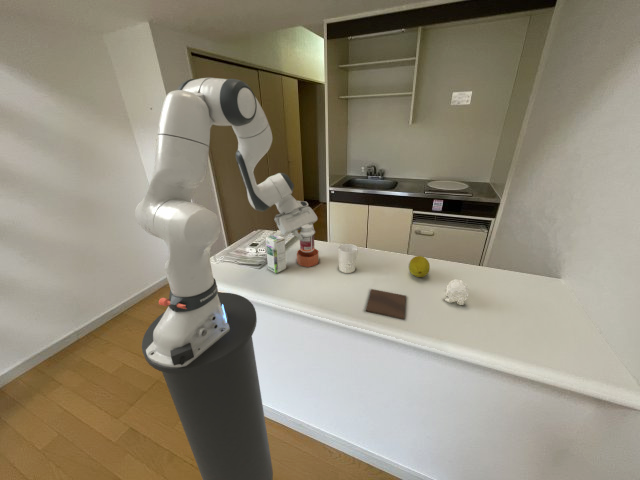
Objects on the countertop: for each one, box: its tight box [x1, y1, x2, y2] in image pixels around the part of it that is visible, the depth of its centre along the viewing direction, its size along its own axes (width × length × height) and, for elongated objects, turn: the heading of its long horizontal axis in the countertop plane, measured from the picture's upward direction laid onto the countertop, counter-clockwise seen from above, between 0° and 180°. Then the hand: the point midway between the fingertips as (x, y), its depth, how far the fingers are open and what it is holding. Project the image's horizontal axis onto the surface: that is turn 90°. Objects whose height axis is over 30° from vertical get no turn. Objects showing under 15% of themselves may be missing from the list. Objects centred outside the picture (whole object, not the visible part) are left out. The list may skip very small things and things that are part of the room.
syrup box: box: [265, 234, 287, 274], centre depth 105 cm, size 6×6×14 cm
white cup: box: [337, 243, 359, 274], centre depth 105 cm, size 8×8×10 cm
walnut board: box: [365, 288, 407, 320], centre depth 87 cm, size 12×12×1 cm
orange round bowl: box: [296, 247, 320, 268], centre depth 113 cm, size 9×10×4 cm
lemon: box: [408, 255, 431, 278], centre depth 101 cm, size 11×8×8 cm
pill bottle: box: [299, 224, 315, 252], centre depth 109 cm, size 6×6×11 cm
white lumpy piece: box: [444, 278, 470, 306], centre depth 88 cm, size 6×8×12 cm
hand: (308, 236), depth 108 cm, fingers closed on pill bottle, 6 cm apart
